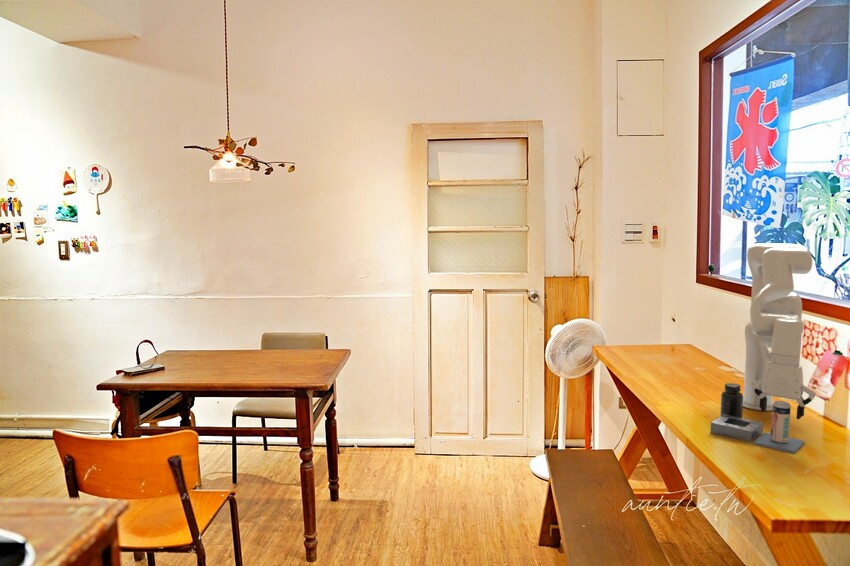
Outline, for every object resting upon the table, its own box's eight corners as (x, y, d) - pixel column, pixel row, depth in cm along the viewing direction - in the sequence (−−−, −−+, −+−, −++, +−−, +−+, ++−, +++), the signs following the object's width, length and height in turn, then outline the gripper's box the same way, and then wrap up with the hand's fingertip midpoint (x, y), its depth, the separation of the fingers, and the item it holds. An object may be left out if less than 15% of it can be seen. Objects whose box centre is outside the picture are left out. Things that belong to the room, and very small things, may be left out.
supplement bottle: (730, 415, 218) (732, 381, 216) (746, 421, 211) (749, 386, 210) (715, 417, 215) (717, 383, 214) (731, 423, 209) (733, 388, 208)
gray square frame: (723, 424, 207) (723, 414, 207) (762, 433, 199) (763, 422, 199) (710, 433, 199) (710, 422, 198) (751, 442, 191) (751, 431, 190)
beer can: (772, 437, 193) (774, 399, 192) (789, 440, 190) (792, 402, 189) (768, 441, 189) (771, 402, 188) (786, 445, 186) (789, 406, 185)
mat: (765, 434, 198) (765, 432, 198) (804, 443, 190) (804, 440, 190) (753, 444, 189) (753, 441, 189) (794, 453, 182) (794, 451, 182)
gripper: (750, 356, 190) (746, 410, 192) (815, 366, 179) (810, 424, 181) (757, 352, 196) (753, 405, 198) (821, 362, 184) (816, 418, 186)
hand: (781, 414), depth 189 cm, fingers open, 9 cm apart
